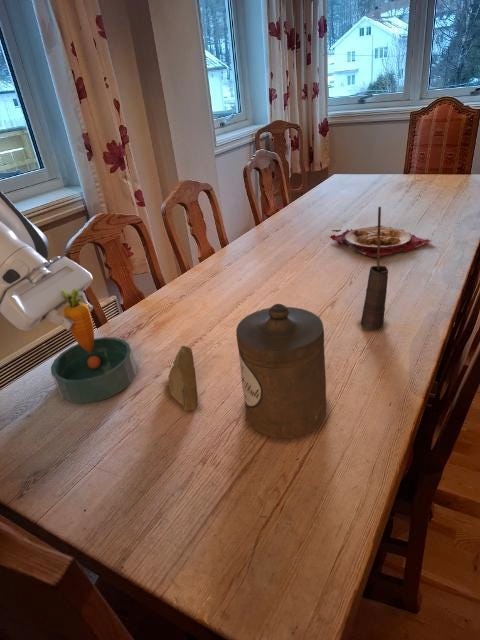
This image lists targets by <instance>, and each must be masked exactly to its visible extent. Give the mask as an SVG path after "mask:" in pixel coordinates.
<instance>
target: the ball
mask: <svg viewBox="0 0 480 640" xmlns="http://www.w3.org/2000/svg"><path fill="white" fill-rule="evenodd" d="M87 365H88V366H89V367H90V368H91V369H97V368H98V367H99V366H100V365H101V360H100V358H99V357H97V356H91V357H90V358H89V359H88V361H87Z"/></svg>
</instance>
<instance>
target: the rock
mask: <svg viewBox="0 0 480 640" xmlns="http://www.w3.org/2000/svg"><path fill="white" fill-rule="evenodd" d="M193 355H194V354H193V350H192V348H191V347H189V346H186V345H182V346H181V347H180V348H179V351H178V352H177V354H176V356H175V359H174V361H173V365H172V367H171V368H170V371H169V374H168V377H167V378H168V380H167V382H166V384H167V386H168V390H169V394H170V395H171V396H172V398H173V399H174V400H176V401H177V403H179V404H180V405H182V407H183V410H184V411H185V412H189V411H194V410H196V409H198V401H199V400H198V391H197V389H198V387H197V385H198V384H197V377H196V368H195V363H194V356H193Z"/></svg>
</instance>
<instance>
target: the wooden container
mask: <svg viewBox="0 0 480 640" xmlns="http://www.w3.org/2000/svg"><path fill="white" fill-rule="evenodd" d="M235 332H236V333H235V335H236V345H237V350H238V358H239V367H240V375H241V378H240V379H241V385H242V392H243V399H244V405H245V406H244V407H245V412H246V417H247V420H248V422H249V424H250V425H251V426H252V427H253V429H255V430H256V431H258V432H259V433H261V434H263V435H265V436H268V437H270V438H271V437H272V438H277V439H293V438H299V437H303V436H305V435H308V434H309V433H311V432H313V431H315V430H316V429H318V428H319V427H320V426H321V424H322V423H323V422H324V420H325V418H326V414H327V378H326V375H327V374H326V359H325V358H326V356H325V329H324V323H323V321H322V319H321V318H320V317H319V316H318V315H317V314H316V313H314V312H312V311H310V310H307V309H304V308H300V307H292V306H287V305H285V304H283V303H275V304H273V305H272V306H270V307H268V308H263V309H260V310H257V311H254V312H252V313H250V314H248V315H246V316H244V318H242V319H241V320H240V322H239V323H238V324H237V326H236V329H235Z"/></svg>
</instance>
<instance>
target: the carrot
mask: <svg viewBox="0 0 480 640" xmlns="http://www.w3.org/2000/svg"><path fill="white" fill-rule="evenodd" d="M61 293H62V294H63V295H64V296H65V298H66V299H67V301H68V302H67V303H68V305H67V306H65V308H64V310H63V311H64V312H63V313H64V314H63V315H64V317H65V318H67V317H68V316H69V317H70V318H71V319H72V320H74V321H75V324H74V325H73V326H72V327H71V328H70V329H69V330H70V333H71V334H72V336H73V338H74V340H75V341H76V342H77V344H79V345H80V346H81V347H82V348H83V349H84V350H86V351H87V352H89V353H91V352H92V350H93V346H94V339H95V330H94V321H93V319H92V314H91V312H90V311H89V308H88V305H87V304H85V303H81V302H79V301H80V300H81V299H82V298H81V297H79V298H78V299H77V300H76V297H77V293H78V290H77V289H73V292H72V300H71V299H70V295H69V294H68V293H66V292H65V291H64V290H62V291H61Z"/></svg>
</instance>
